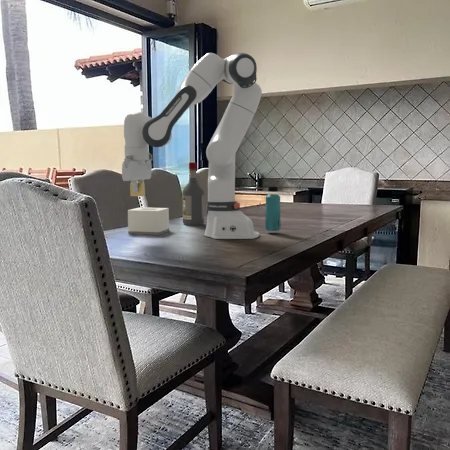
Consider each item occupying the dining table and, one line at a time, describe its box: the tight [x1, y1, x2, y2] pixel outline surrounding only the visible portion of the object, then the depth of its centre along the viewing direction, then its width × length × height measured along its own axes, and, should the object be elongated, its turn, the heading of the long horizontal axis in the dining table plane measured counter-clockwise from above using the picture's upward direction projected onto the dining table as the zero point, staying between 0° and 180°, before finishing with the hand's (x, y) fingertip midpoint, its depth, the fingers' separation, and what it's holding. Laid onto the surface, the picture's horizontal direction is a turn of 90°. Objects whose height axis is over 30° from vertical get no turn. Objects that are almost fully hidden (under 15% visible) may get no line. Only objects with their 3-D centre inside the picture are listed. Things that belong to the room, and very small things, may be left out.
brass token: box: [129, 182, 146, 197], centre depth 174 cm, size 5×2×5 cm, turn 78°
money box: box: [127, 207, 170, 236], centre depth 194 cm, size 14×12×10 cm
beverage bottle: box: [264, 185, 282, 232], centre depth 188 cm, size 6×7×20 cm
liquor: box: [181, 162, 205, 227], centre depth 217 cm, size 9×9×30 cm
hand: (137, 191), depth 174 cm, fingers closed on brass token, 2 cm apart
